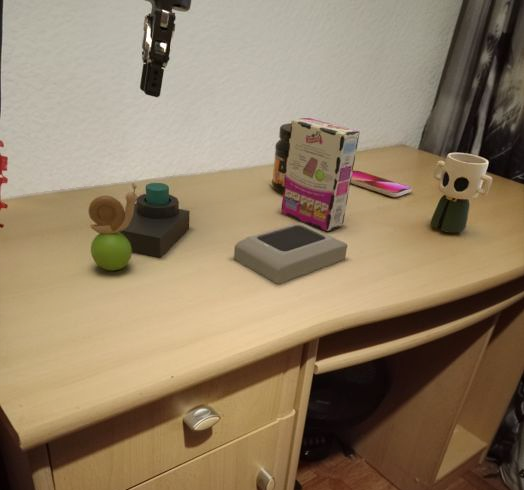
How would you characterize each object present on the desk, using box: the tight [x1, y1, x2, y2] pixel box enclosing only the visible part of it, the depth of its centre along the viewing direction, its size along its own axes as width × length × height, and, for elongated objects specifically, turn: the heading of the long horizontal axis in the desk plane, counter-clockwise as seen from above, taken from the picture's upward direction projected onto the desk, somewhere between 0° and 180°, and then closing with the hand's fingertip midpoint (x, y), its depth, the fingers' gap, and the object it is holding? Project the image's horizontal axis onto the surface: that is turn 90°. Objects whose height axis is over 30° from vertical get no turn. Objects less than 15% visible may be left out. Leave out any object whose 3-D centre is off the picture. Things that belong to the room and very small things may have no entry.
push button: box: [145, 182, 170, 205], centre depth 85 cm, size 4×4×2 cm
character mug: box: [430, 152, 493, 234], centre depth 97 cm, size 11×7×13 cm, turn 42°
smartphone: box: [350, 170, 412, 198], centre depth 118 cm, size 7×1×15 cm
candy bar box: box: [280, 117, 361, 232], centre depth 94 cm, size 11×5×16 cm, turn 47°
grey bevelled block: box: [233, 221, 348, 285], centre depth 83 cm, size 10×4×15 cm
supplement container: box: [271, 122, 291, 195], centre depth 108 cm, size 10×10×12 cm
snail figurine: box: [88, 182, 138, 271], centre depth 73 cm, size 5×6×12 cm
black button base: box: [119, 193, 191, 259], centre depth 85 cm, size 13×9×5 cm
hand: (149, 93), depth 79 cm, fingers open, 8 cm apart
